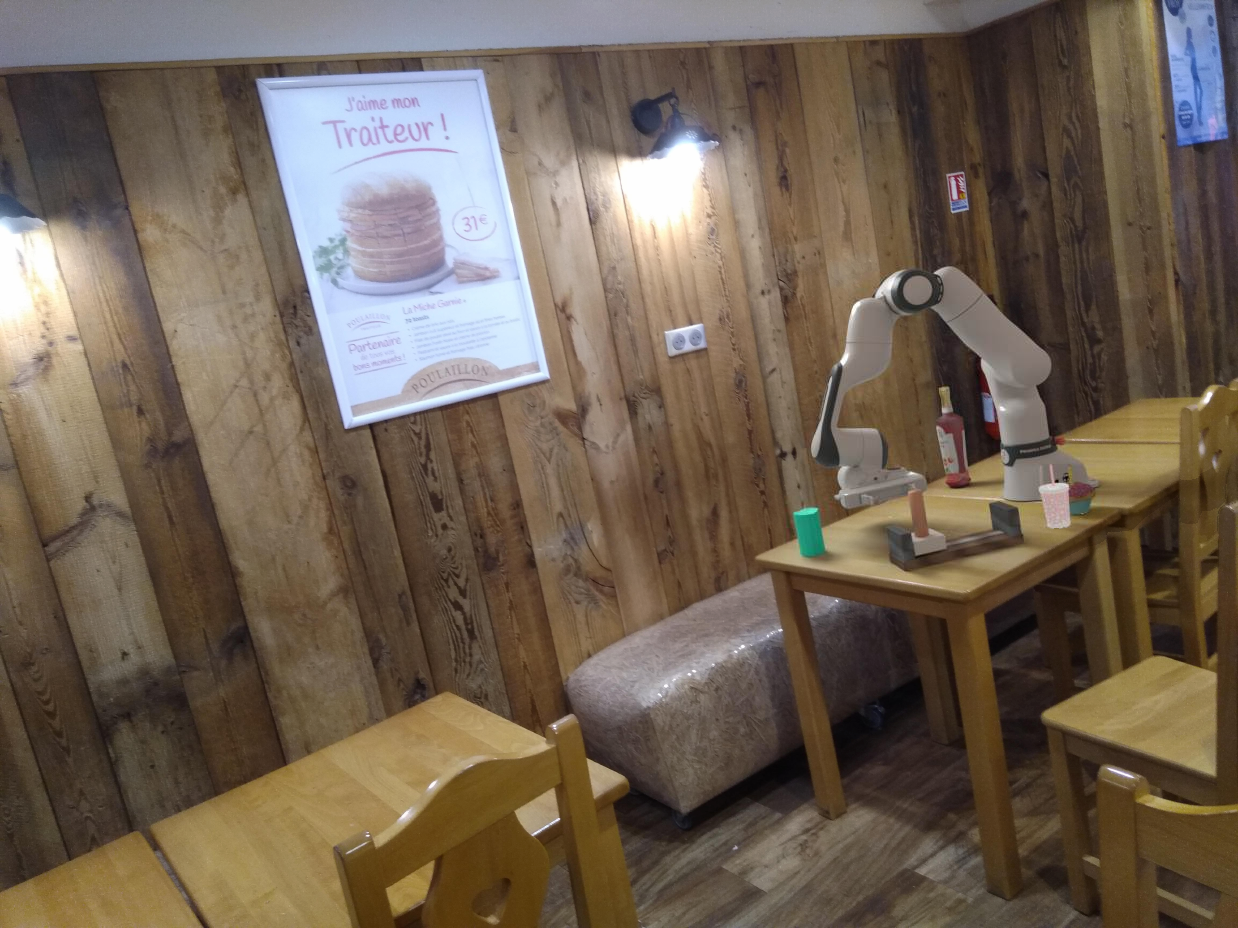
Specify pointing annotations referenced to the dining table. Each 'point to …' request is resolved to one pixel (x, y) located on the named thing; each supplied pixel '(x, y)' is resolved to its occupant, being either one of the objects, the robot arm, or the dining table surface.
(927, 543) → the peach cylinder post
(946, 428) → the liquor
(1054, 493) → the beverage cup
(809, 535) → the candle
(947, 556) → the rail
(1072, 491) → the cupcake
